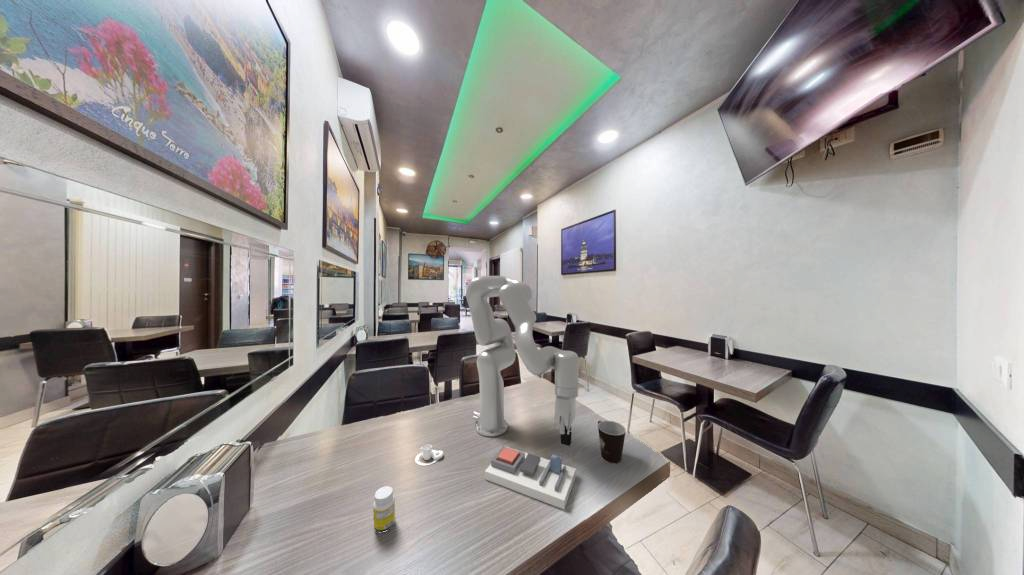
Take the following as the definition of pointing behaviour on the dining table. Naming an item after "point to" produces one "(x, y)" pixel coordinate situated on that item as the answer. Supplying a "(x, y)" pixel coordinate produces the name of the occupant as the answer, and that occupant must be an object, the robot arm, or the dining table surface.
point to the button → (508, 456)
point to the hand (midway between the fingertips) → (566, 443)
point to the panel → (533, 479)
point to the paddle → (556, 464)
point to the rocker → (530, 464)
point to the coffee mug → (611, 440)
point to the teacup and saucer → (428, 455)
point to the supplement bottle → (384, 509)
